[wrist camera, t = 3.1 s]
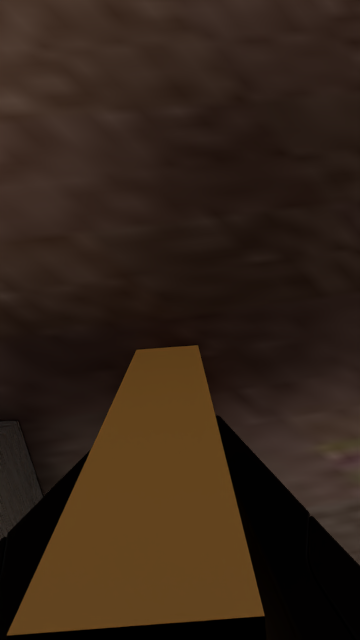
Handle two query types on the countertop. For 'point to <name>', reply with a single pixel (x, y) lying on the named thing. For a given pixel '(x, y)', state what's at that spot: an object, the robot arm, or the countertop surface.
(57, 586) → the wedge
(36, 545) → the robot arm
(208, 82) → the countertop surface
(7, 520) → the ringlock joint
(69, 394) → the countertop surface
